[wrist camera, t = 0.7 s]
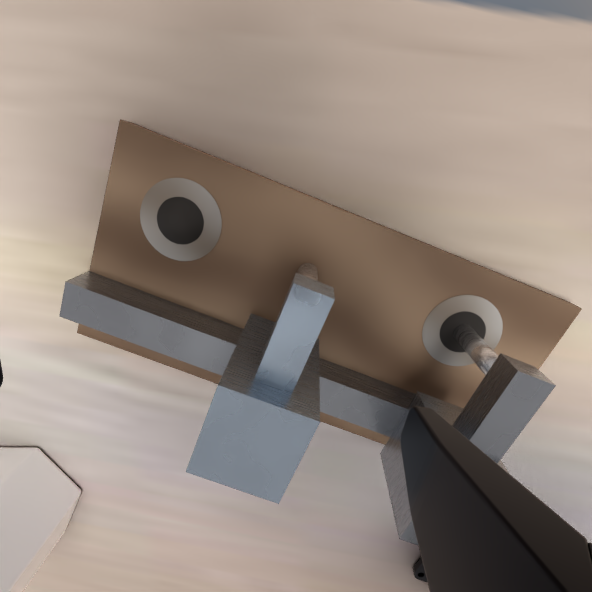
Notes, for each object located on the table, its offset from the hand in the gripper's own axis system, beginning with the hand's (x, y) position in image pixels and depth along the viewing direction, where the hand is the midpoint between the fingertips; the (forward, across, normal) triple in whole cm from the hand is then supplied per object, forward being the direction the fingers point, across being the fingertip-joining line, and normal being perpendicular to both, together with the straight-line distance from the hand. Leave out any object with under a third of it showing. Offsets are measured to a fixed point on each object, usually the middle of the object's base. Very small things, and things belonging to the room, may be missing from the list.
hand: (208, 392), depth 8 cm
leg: (+11, -2, +4) cm, 12 cm away
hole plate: (+12, -4, +4) cm, 13 cm away
